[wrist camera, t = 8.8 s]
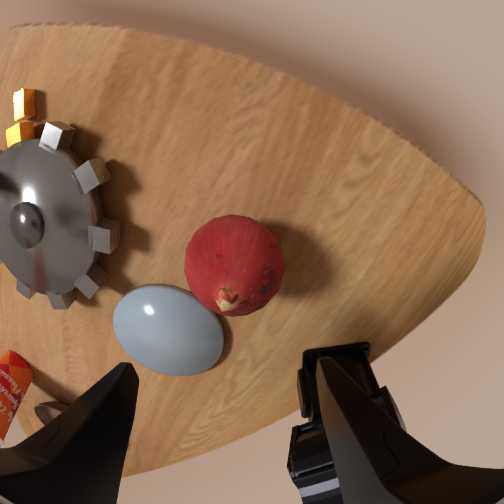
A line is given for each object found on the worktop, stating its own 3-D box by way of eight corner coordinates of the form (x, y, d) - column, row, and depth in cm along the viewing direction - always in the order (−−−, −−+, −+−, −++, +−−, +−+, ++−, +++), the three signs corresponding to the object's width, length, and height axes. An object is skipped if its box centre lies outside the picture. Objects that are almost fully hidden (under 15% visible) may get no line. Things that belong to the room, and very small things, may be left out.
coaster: (214, 280, 21) (213, 286, 21) (230, 370, 25) (230, 376, 25) (101, 285, 22) (98, 290, 21) (135, 368, 26) (133, 373, 25)
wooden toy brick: (64, 74, 14) (52, 72, 13) (91, 253, 20) (82, 262, 19) (3, 107, 15) (-9, 108, 13) (30, 259, 21) (21, 267, 19)
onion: (286, 210, 19) (307, 261, 12) (269, 283, 21) (277, 358, 14) (201, 195, 19) (169, 238, 11) (192, 270, 21) (166, 341, 14)
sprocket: (5, 105, 14) (-39, 109, 9) (147, 151, 17) (110, 161, 12) (-10, 257, 20) (-41, 281, 15) (104, 325, 23) (79, 365, 18)
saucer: (122, 452, 37) (119, 464, 34) (54, 425, 35) (49, 435, 33) (109, 414, 31) (103, 429, 28) (28, 380, 29) (21, 391, 27)
